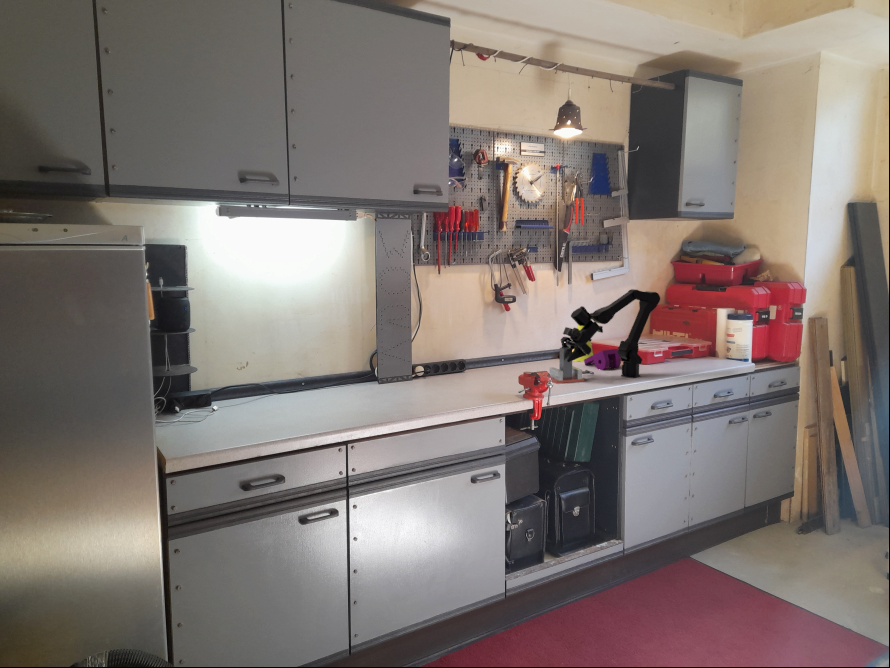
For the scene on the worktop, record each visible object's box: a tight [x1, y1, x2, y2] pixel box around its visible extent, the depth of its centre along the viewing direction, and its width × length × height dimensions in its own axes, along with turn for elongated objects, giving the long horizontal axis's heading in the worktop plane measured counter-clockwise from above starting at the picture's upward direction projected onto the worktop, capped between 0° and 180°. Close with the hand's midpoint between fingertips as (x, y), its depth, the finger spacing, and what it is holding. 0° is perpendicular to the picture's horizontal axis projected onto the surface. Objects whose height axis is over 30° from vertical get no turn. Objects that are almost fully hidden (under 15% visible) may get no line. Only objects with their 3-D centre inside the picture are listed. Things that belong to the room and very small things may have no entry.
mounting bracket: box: [583, 348, 622, 371], centre depth 284 cm, size 9×8×18 cm
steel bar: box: [558, 347, 573, 379], centre depth 253 cm, size 4×4×13 cm
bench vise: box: [549, 365, 595, 384], centre depth 254 cm, size 18×9×5 cm, turn 105°
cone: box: [574, 324, 594, 362], centre depth 305 cm, size 12×12×25 cm
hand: (562, 359), depth 252 cm, fingers open, 9 cm apart
